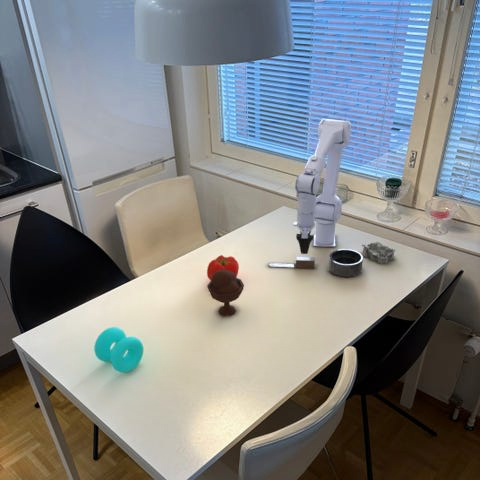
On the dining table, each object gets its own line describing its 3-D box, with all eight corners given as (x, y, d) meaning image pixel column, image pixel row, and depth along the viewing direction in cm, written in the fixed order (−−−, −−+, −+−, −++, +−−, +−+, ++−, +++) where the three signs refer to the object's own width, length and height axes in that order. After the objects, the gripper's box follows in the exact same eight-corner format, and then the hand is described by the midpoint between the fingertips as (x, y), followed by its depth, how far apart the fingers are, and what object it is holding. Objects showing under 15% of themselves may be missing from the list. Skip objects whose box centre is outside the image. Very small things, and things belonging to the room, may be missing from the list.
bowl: (328, 260, 176) (329, 248, 173) (360, 262, 175) (361, 249, 172) (328, 277, 167) (329, 264, 164) (362, 278, 166) (363, 265, 163)
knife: (314, 265, 174) (314, 257, 172) (314, 268, 172) (314, 260, 170) (269, 263, 176) (269, 255, 174) (268, 267, 174) (268, 259, 172)
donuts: (124, 347, 141) (118, 319, 135) (148, 361, 136) (142, 332, 130) (96, 365, 135) (88, 337, 129) (119, 381, 130) (112, 352, 124)
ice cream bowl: (244, 320, 149) (243, 278, 140) (208, 321, 150) (204, 279, 141) (245, 301, 158) (243, 260, 149) (210, 301, 158) (206, 261, 149)
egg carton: (359, 254, 179) (360, 244, 177) (373, 248, 183) (374, 238, 180) (382, 265, 172) (383, 255, 170) (396, 258, 175) (398, 248, 173)
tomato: (240, 273, 172) (239, 251, 166) (237, 290, 163) (236, 268, 158) (210, 273, 173) (208, 251, 168) (205, 290, 164) (203, 267, 159)
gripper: (294, 201, 168) (293, 238, 176) (292, 220, 156) (291, 257, 164) (315, 202, 167) (313, 238, 175) (315, 220, 155) (313, 258, 163)
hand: (304, 248), depth 169 cm, fingers open, 7 cm apart
